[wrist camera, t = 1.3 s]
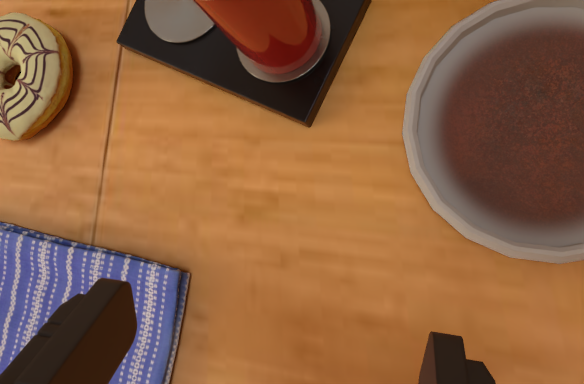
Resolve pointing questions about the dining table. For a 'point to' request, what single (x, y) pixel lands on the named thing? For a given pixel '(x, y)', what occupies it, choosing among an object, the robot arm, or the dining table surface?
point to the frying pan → (505, 128)
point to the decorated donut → (31, 75)
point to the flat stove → (231, 61)
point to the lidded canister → (268, 30)
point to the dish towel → (79, 279)
